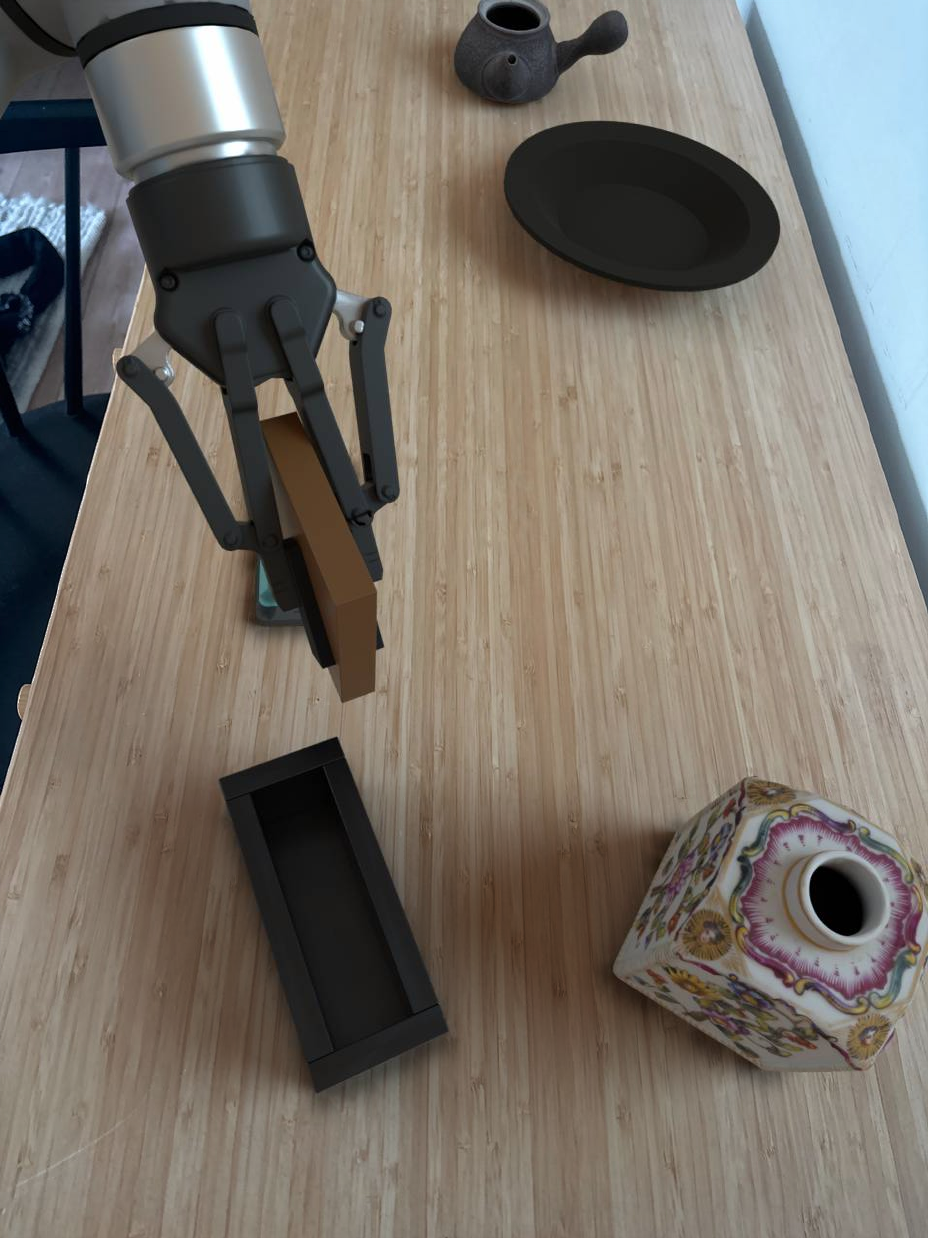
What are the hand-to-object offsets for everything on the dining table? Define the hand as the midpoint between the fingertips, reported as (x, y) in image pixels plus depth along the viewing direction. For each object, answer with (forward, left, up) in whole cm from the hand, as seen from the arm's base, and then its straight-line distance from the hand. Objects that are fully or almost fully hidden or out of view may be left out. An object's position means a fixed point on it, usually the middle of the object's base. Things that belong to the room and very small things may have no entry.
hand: (347, 649), depth 46 cm
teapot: (-72, +44, -18) cm, 86 cm away
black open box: (+10, -4, -18) cm, 21 cm away
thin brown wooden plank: (-4, 0, -3) cm, 5 cm away
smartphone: (-19, +2, -18) cm, 26 cm away
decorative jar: (+20, +20, -18) cm, 34 cm away
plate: (-45, +44, -18) cm, 65 cm away
